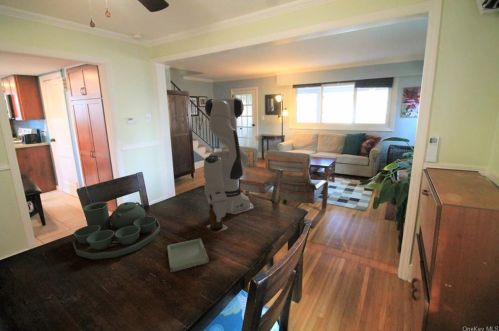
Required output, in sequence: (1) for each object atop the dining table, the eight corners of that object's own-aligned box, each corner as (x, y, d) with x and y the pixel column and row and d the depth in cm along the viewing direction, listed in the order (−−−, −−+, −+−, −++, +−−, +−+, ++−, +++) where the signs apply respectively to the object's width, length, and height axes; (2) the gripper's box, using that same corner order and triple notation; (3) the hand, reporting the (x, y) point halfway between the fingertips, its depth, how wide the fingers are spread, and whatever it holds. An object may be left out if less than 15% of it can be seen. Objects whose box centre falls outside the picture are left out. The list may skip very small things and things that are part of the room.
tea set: (58, 268, 101) (50, 233, 97) (91, 225, 138) (86, 199, 134) (157, 251, 111) (153, 219, 107) (163, 216, 149) (160, 191, 145)
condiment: (219, 221, 119) (217, 199, 116) (228, 228, 112) (227, 205, 109) (206, 226, 114) (204, 203, 111) (215, 233, 108) (213, 209, 105)
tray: (200, 241, 119) (200, 238, 118) (209, 262, 102) (208, 258, 102) (167, 249, 113) (167, 245, 112) (170, 272, 96) (170, 268, 96)
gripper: (203, 184, 117) (205, 210, 121) (213, 200, 99) (215, 229, 103) (215, 182, 120) (217, 207, 123) (227, 197, 101) (229, 226, 105)
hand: (216, 217), depth 113 cm, fingers closed on condiment, 6 cm apart
